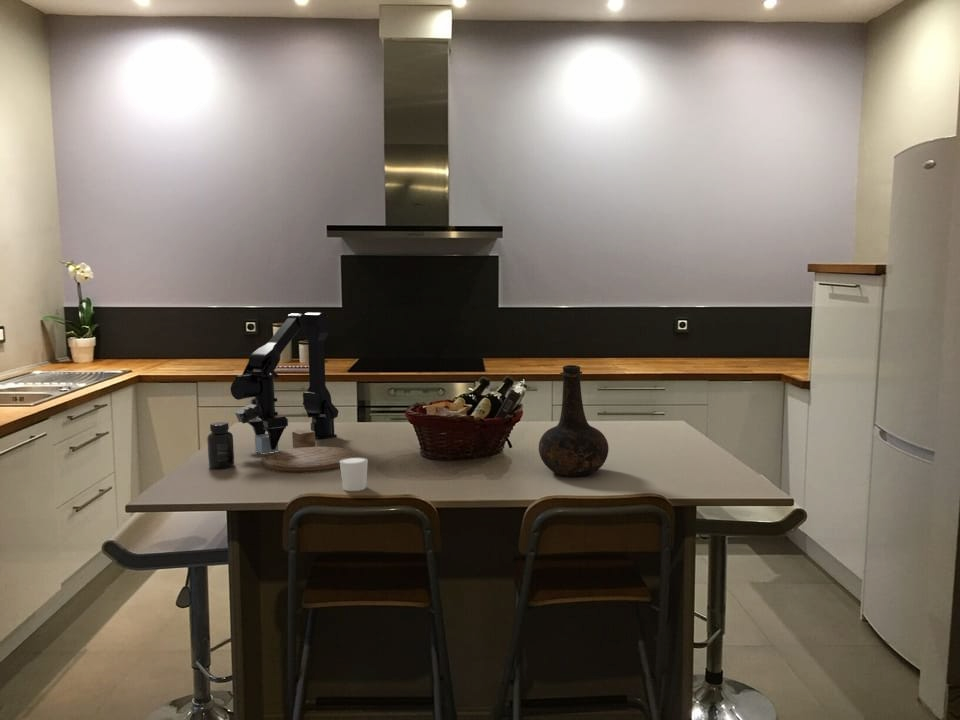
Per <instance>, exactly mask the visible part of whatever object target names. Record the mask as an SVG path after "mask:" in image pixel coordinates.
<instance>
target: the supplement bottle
mask: <svg viewBox="0 0 960 720" xmlns="http://www.w3.org/2000/svg"><path fill="white" fill-rule="evenodd" d="M209 425H210V427H209V431H210V433H209V434H208V435H207V437H206V441H207V442H206V443H207V454H208V455H207V457H208V458H207V459H208V467H209V468H210V469H212V468H213V470H223V469H228V468H232V467H234V466H235V450H234V449H235V448H234V436H233V433H232V432H230V431H229V429H230V428H229V422H227V421H222V422H220V421H219V422H213V423H210V424H209Z"/></svg>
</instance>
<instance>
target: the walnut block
mask: <svg viewBox="0 0 960 720" xmlns="http://www.w3.org/2000/svg"><path fill="white" fill-rule="evenodd" d="M291 435H292V448H293V447H295V448H303V447H316V438H315V432H314V431H311V429H308V428H307V429H299V430H292V433H291Z"/></svg>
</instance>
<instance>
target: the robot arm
mask: <svg viewBox="0 0 960 720" xmlns="http://www.w3.org/2000/svg"><path fill="white" fill-rule="evenodd" d="M330 322H331V321H330V316H328V315H327V314H326V313H325V312H311V311H310V312H309V311H308V312H306V313H304V314H303V313H296V312H294V313H293V312H292V313H290V314H289V313H288V315H287V317H286V320H285V321H283V324H281V326H280V327H279V328H278V329H277V330H276V332H275V333H274V334H273V336H271V338H270V339H269V340H268V342H267V343H265V344H264V345H262V346H261V347H258V348H257V349H256V350H255V351H253V352H252V353H251V354H250V356H249V358H248V361H247V364H246V366H245V367H244V370H243V372H242V374H241V375H235V376H234V378H235V379H234V380H233V381H232V383H231V385H230V393H231V396H232V397H233V399H235V400H238V401H239V400H243V399H244V400H245V399H250V398H251V400H250V402H251V403H250V404H248V405H245V406H244V407H243V406H242V408H239V409H237V410H236V411H234V414H235V416H236V418H237V420H238V422H239V423H242V424H248V425H249V426H251V427H252V429H253V432H254V436H255V435H261V434H266V432H267V434H268V435H269V441H270V446H271V450H275V449H276V446H277V444H278V445H279V441H280V439H281V437H282V435H283V432H284V431H285V429H286V428H287V427H288V426H289V419H288V418H287V417H286V416H285V415H281V414H279V411H276V402H278V397H275V379H279V378H280V375H279V374H278V373H276V372H275V370H276V368H277V367H278V365H279V363H280V361H281V355H282V353H283V351H284V350H285V348H286V347H287V346H288V345H289V344H290V342H291V341H292V339H293V338H295V336H296V334H297V333H298V332H299V331H300V330H301V328H302V333H303V335H304V336H305V338H306V340H307V341H308V342H307V344H308V345H307V348H308V378H309V379H308V380H309V382H308V383H309V385H308V388H307V391H304V392H303V393H302V399H303V401H302V406H303V408H304V411H306V415H307V417H308V418H311V422H310V430H311V431H314V432H315V439H319V440H321V439H327V438H333V436H334V437H337V436H338V435H337V434H336V433H335V419H336V418H338V415H339V409H337V408H336V406H335V405H334V404H333V402H332V396H331V392H330V391H329V389H328V388H327V386H326V363H325V362H326V360H325V357H326V355H325V340H326V339H327V336H328V335H329V332H330Z"/></svg>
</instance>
